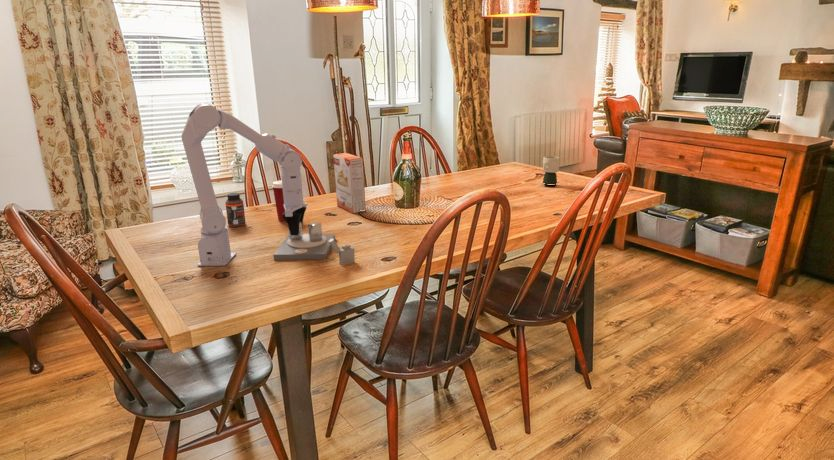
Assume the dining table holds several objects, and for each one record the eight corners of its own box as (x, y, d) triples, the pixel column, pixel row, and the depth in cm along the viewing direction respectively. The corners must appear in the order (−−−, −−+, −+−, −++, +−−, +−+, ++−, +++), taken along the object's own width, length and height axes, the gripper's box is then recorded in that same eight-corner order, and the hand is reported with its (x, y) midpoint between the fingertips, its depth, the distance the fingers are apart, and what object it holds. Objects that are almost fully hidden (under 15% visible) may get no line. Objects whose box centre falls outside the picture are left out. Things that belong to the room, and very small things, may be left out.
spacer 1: (299, 240, 158) (298, 225, 156) (287, 240, 159) (285, 224, 157) (304, 236, 162) (303, 221, 160) (292, 235, 162) (291, 220, 161)
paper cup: (298, 221, 188) (295, 183, 183) (276, 223, 185) (272, 185, 181) (295, 215, 195) (291, 178, 190) (274, 217, 192) (270, 180, 188)
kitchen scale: (325, 259, 150) (324, 252, 150) (273, 259, 151) (273, 252, 150) (335, 239, 168) (334, 232, 167) (288, 239, 168) (288, 233, 167)
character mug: (549, 182, 239) (551, 154, 235) (563, 185, 234) (565, 156, 230) (535, 186, 232) (537, 157, 228) (549, 189, 227) (551, 159, 223)
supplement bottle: (240, 227, 181) (236, 196, 177) (224, 227, 182) (220, 195, 179) (249, 222, 186) (245, 192, 183) (233, 222, 188) (229, 191, 184)
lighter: (352, 260, 149) (350, 234, 147) (355, 262, 148) (353, 235, 145) (329, 266, 145) (327, 238, 143) (332, 267, 144) (330, 240, 142)
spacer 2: (320, 242, 158) (319, 226, 157) (307, 241, 159) (306, 226, 157) (324, 238, 162) (322, 222, 160) (311, 237, 162) (310, 222, 161)
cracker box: (336, 206, 206) (332, 153, 199) (349, 204, 209) (346, 152, 203) (352, 214, 195) (348, 158, 188) (366, 211, 198) (363, 157, 191)
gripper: (300, 195, 148) (304, 240, 153) (310, 183, 162) (314, 225, 166) (275, 195, 149) (280, 240, 153) (288, 184, 162) (292, 225, 167)
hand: (296, 232), depth 160 cm, fingers closed on spacer 1, 4 cm apart
